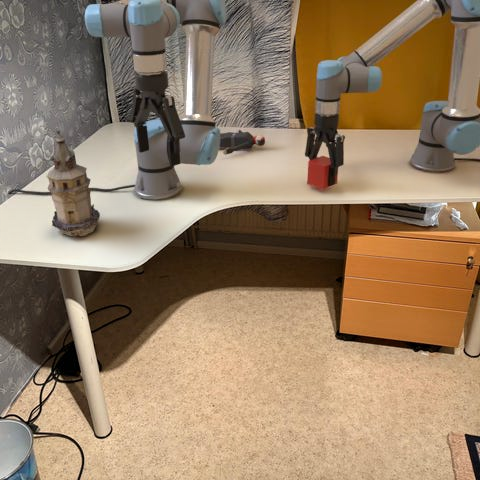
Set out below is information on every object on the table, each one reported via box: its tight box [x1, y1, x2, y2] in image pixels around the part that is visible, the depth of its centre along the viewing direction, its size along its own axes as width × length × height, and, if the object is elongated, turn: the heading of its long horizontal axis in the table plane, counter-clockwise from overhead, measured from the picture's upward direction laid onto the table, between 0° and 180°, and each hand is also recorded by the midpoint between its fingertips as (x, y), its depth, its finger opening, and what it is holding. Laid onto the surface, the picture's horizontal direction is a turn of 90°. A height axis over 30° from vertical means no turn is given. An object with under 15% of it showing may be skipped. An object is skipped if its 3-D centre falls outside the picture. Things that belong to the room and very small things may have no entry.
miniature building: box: [46, 129, 101, 237], centre depth 148 cm, size 13×14×30 cm
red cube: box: [306, 155, 339, 191], centre depth 176 cm, size 7×7×8 cm
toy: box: [219, 129, 266, 156], centre depth 213 cm, size 26×6×30 cm
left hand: (159, 158), depth 135 cm, fingers open, 13 cm apart
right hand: (322, 181), depth 177 cm, fingers closed on red cube, 7 cm apart
